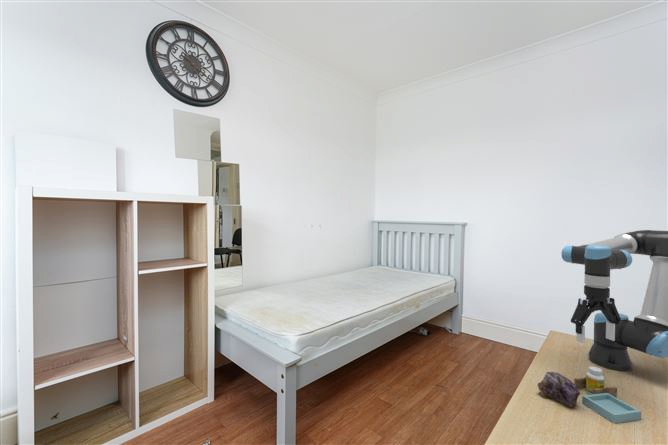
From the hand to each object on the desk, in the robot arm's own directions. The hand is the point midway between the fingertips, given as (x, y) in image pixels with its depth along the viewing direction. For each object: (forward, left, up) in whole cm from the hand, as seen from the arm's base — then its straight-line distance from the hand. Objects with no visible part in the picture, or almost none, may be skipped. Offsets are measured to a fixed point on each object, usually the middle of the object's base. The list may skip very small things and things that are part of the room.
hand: (595, 340), depth 118 cm
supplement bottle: (0, 0, -21) cm, 21 cm away
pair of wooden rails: (0, 0, -21) cm, 21 cm away
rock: (+17, +1, -21) cm, 27 cm away
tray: (+5, +10, -21) cm, 24 cm away
